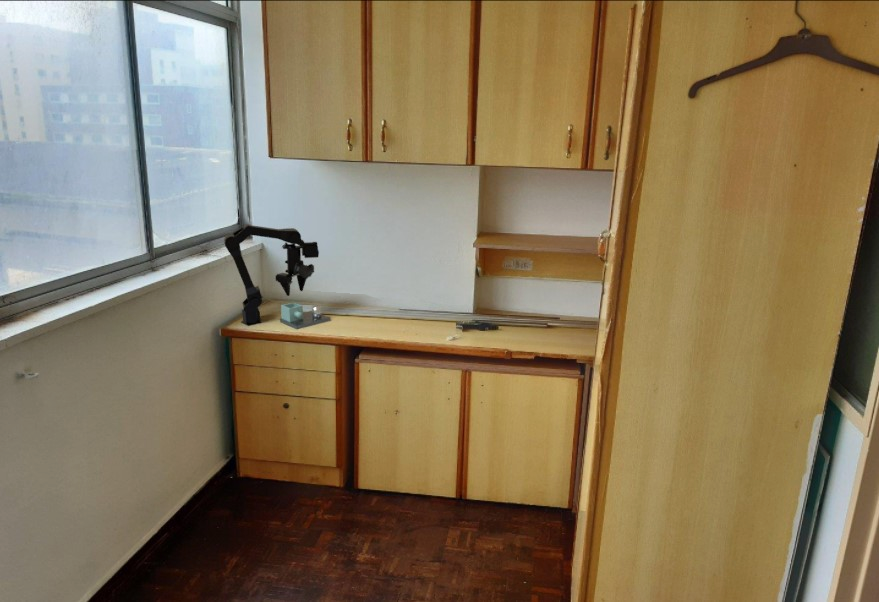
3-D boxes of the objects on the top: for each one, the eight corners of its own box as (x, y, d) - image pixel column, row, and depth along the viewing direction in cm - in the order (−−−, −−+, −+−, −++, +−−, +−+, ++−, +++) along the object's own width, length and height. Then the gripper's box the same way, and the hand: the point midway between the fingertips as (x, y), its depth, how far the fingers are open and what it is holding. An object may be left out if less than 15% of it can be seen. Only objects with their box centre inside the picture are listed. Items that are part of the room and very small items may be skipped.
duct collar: (294, 315, 283) (294, 302, 281) (307, 320, 276) (306, 307, 274) (281, 318, 278) (280, 305, 277) (294, 323, 272) (293, 310, 270)
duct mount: (296, 329, 270) (295, 314, 268) (279, 321, 278) (279, 307, 277) (329, 320, 281) (329, 306, 279) (313, 313, 290) (312, 300, 288)
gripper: (295, 264, 264) (296, 301, 269) (322, 256, 281) (322, 291, 285) (274, 261, 269) (275, 297, 273) (301, 253, 285) (302, 287, 290)
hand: (294, 293), depth 280 cm, fingers open, 9 cm apart
